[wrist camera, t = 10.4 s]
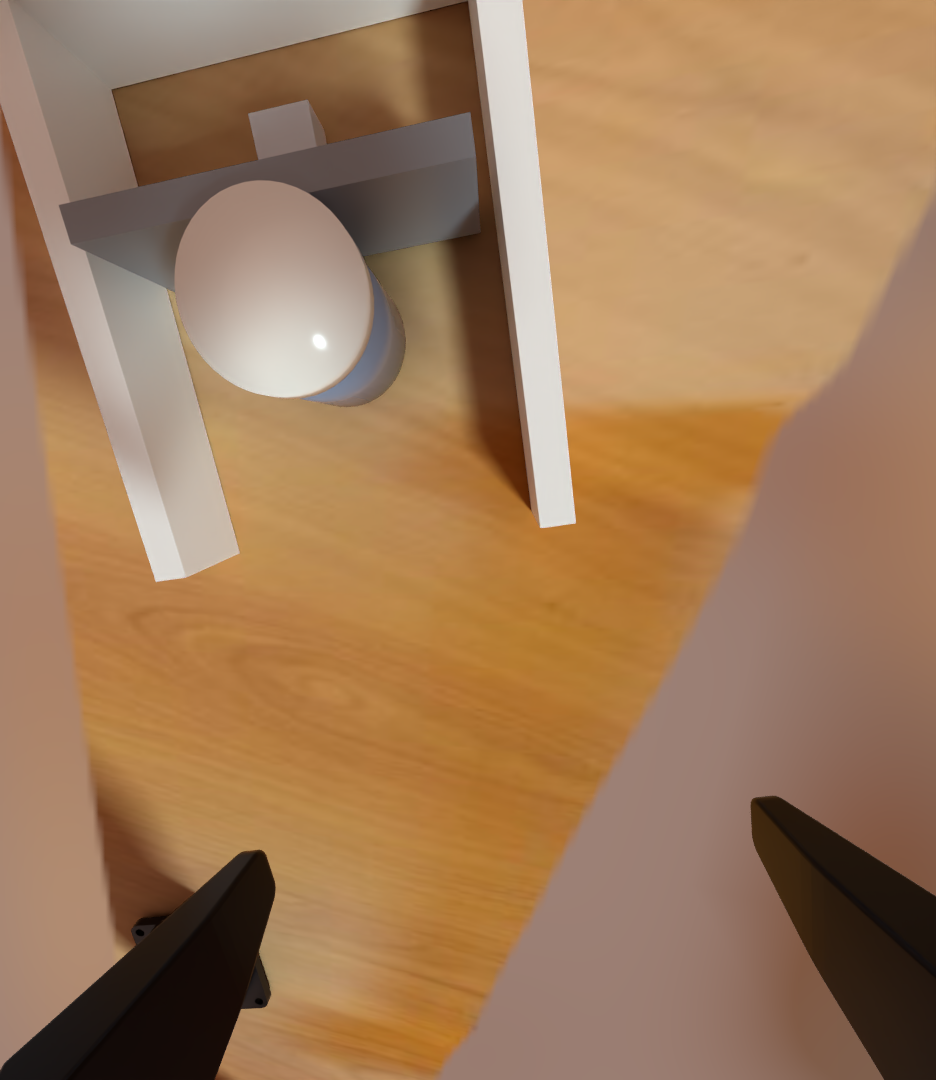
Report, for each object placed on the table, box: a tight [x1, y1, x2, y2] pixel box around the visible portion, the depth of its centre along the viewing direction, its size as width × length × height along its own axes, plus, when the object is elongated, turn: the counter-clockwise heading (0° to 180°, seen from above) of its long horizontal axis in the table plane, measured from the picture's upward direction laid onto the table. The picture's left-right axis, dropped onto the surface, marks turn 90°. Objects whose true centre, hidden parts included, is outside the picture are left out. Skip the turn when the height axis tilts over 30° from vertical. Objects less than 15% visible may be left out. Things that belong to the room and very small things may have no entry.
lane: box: [0, 0, 576, 582], centre depth 14 cm, size 19×15×5 cm
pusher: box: [59, 99, 481, 292], centre depth 14 cm, size 4×12×4 cm, turn 99°
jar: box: [174, 180, 405, 407], centre depth 14 cm, size 5×5×6 cm
